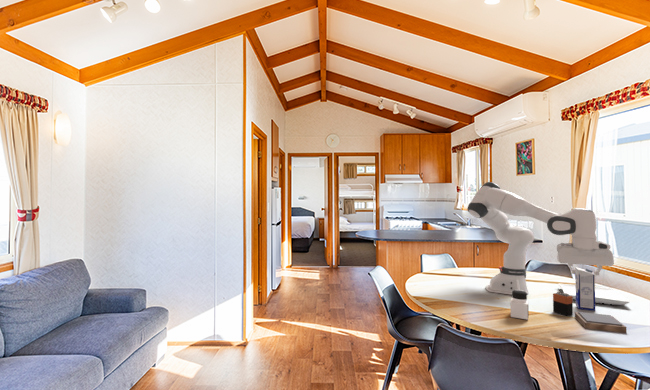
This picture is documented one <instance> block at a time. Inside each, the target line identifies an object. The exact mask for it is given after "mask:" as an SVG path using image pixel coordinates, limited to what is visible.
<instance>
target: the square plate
mask: <svg viewBox="0 0 650 390" xmlns="http://www.w3.org/2000/svg"><path fill="white" fill-rule="evenodd" d="M557 285H558V286H559V287H560V289H561V290H562V291H563V293H567V294H569V295H570V296H572V300H573V301H576V284H570V283H557ZM595 302H596V303H595V304H597V303H598V304H602V303H604V305H610V304H612V305H614V306H616V305H618V306H619V305H620V306H624V305H628V304H629V303H630V300H628V299H627V298H625V296H624V295H622V294H621V293H620V292H618V291H617V290H616V289H614V288H610V287H608V288H607V287H601V286H595ZM612 305H611V306H612Z"/></svg>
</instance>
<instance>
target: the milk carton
mask: <svg viewBox="0 0 650 390" xmlns="http://www.w3.org/2000/svg"><path fill="white" fill-rule="evenodd" d="M574 270H576V274H574V275H575V285H576V300H575V306H576V307H577V309H578V310H585V311H593V312H596V303H595V287H596V275H594V270H592V269H589V268H585V269H584V268H580V267H577V266H575V269H574Z"/></svg>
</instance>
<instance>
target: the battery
mask: <svg viewBox="0 0 650 390" xmlns="http://www.w3.org/2000/svg"><path fill="white" fill-rule="evenodd" d="M573 301H574V299H572V296H570V295H569V294H567V293H564V292H563V293H561V291H556V293H553V294H552V309H553V310H552V312H553V313H556V314H559V315H562V316H565V317H570V316H573V315H574V313H573V312H574V310H573V309H574V306H573V305H574V304H573Z"/></svg>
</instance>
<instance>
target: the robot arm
mask: <svg viewBox="0 0 650 390" xmlns="http://www.w3.org/2000/svg"><path fill="white" fill-rule="evenodd" d="M467 205H468V206H467V212H468V213H469V214H470V215H471V216H472V217H475V218H477V219H481V220H482V221H483V222H484V223H485V224H486V225H488V226H489V227H490V228H491V229H492V231H494V233H495V237H496V238H497V240H499V241H501V242H502V243H506V244H508V247H507V250H506V251H505V252H504V253H503V266H498V270H499V273H498V274H496V275H494V276H492V277H491V279H490V281H489V284H487V285H486V286H485V290H486V291H487V292H490V293H496V294H502V295H503V294H505V295H511V296H512V291H513V290H522V291H525V292H526V293H527V295H528V294H529V290H528V286H527V280H526V278H527V269H526V255H527V249H528V248H529V246H530V245H532V244H533V243H534V241H535V235H534V232H533V231H532V230H531V229H529V228H526V227H523V226H517V225H513V224H511V222H510V221H509V217H508V216H513V217H528V218H533V219H535V220H538V221H539V222H543V223H545V224H546V226H547V230H548V231H549V232H550V233H552V234H553V235H555V236H565V235H571V243H570V242H568V243H566V242H564V243H563V242H561V243H558V244H557V246H556V252H557V256H556V257H557V258H556V259H557V261H558V263H560V264H567V266H568V268H569V269H570V274H572V275H575V274H576V270H575V269H574V268H573V265H586V266H596V268H597V269H596V270H593V273H594V275H595V276H600V272H601V270H602V269H603V266H605V267H613V266H614V262H615V260H614V254H613V252H612V251H611V245H610V244H608V243H605V242H602V241H600V240H599V241H598V240H597V239H598V238H597V234H596V230H597V218H596V214H595V212H594V211H593V210H591V209H588V208H583V207H573V208H572V209H571V210H569V211H566V212H562V213H559V212H553V211H550V210H548V209H546V208H543V207H541V206H538V205H536V204H534V203H532V202H530V201H528V200H526V199H525V198H523V197H521V196H520V195H518V194H515V193H513V192H511V191H507V190H505V189H502V188H501V186H499V185H498V184H497V183H495V182H492V181H487V182H485V183H484V184H483V185H482V186H481V187H480V188H479V189H478V191H477V192H476V193H475V194H474V196H473V198H472V199H471V201H470V203H468V204H467Z"/></svg>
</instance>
